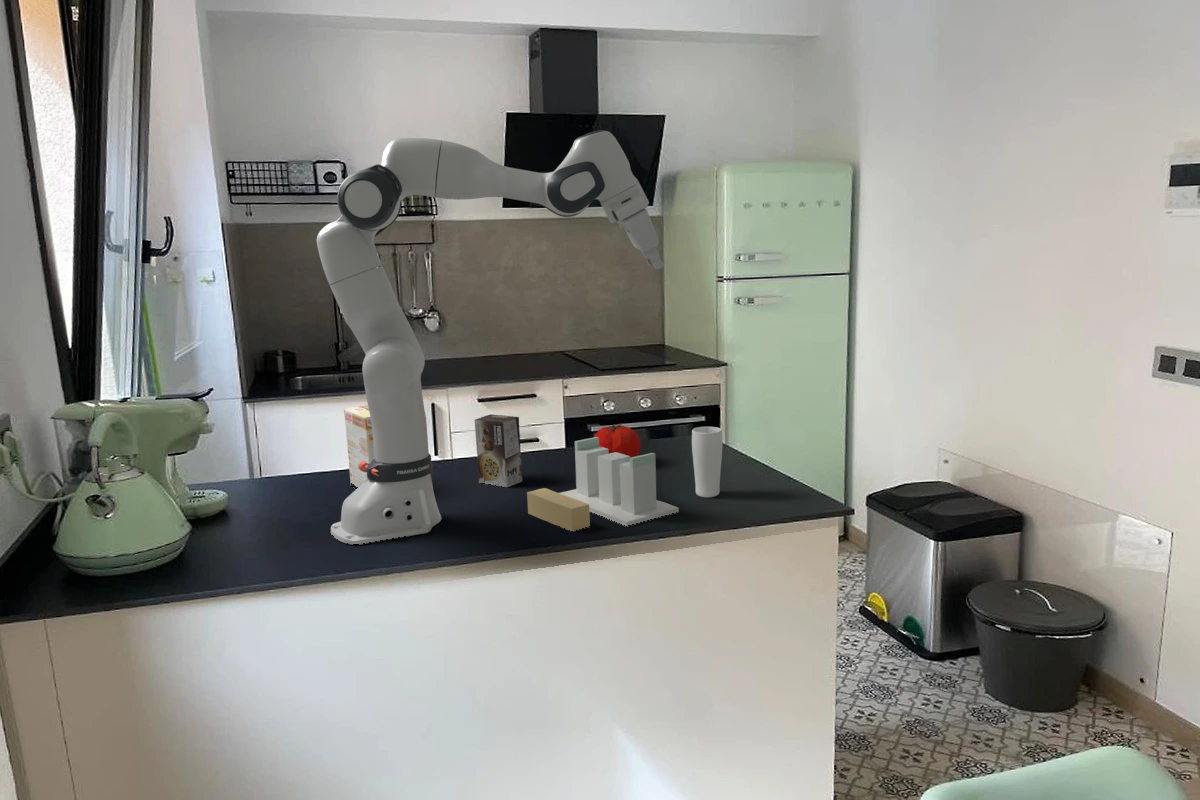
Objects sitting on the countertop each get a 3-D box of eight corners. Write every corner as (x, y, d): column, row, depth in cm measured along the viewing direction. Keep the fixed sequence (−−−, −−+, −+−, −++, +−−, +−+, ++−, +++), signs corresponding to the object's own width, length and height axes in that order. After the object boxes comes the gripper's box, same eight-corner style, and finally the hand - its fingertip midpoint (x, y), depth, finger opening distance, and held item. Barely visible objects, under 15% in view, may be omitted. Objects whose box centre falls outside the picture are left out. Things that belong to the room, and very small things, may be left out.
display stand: (626, 526, 175) (624, 464, 172) (556, 498, 195) (553, 442, 193) (678, 512, 183) (677, 452, 180) (605, 486, 204) (603, 432, 201)
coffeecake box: (400, 494, 203) (394, 413, 199) (371, 500, 199) (363, 417, 195) (378, 480, 215) (371, 404, 211) (349, 486, 211) (342, 408, 207)
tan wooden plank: (572, 533, 173) (571, 509, 172) (528, 514, 185) (527, 492, 184) (590, 527, 176) (589, 504, 175) (545, 510, 188) (544, 487, 187)
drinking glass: (721, 499, 190) (721, 433, 187) (691, 498, 192) (690, 432, 189) (723, 490, 197) (723, 426, 194) (693, 489, 198) (693, 426, 195)
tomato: (611, 457, 230) (610, 418, 228) (650, 462, 223) (649, 422, 221) (581, 468, 220) (579, 428, 218) (621, 475, 212) (620, 433, 210)
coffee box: (523, 481, 210) (520, 416, 207) (507, 488, 205) (503, 421, 202) (494, 476, 215) (490, 413, 212) (477, 483, 209) (473, 418, 206)
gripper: (609, 212, 186) (638, 270, 189) (616, 213, 166) (648, 277, 169) (635, 199, 186) (663, 256, 189) (645, 198, 166) (677, 262, 169)
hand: (656, 266), depth 179 cm, fingers open, 8 cm apart
